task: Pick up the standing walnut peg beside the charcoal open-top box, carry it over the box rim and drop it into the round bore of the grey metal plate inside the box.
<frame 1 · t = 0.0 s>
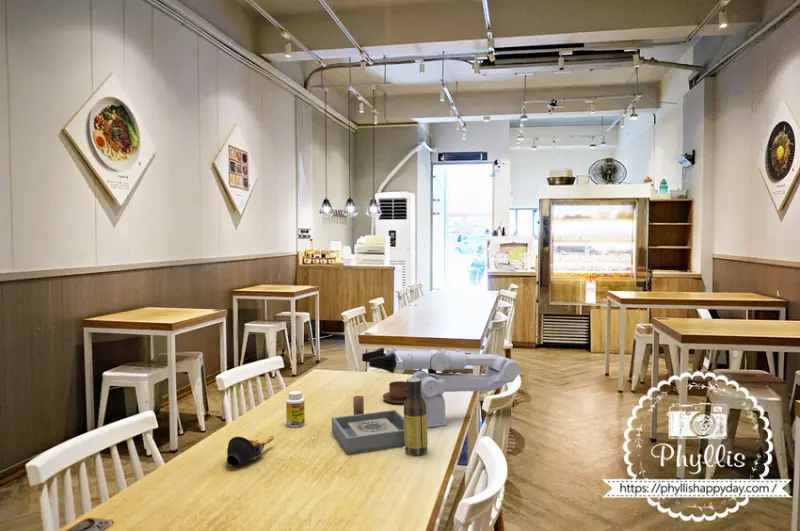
hand: (365, 359, 159), 22 cm above the table, tool horizontal, fingers open, 7 cm apart
bored plate: (372, 430, 154), in the open box, point 2 cm above the table
supplement bottle: (295, 425, 167), on the table
cup and saucer: (399, 401, 191), on the table
fried shrimp in bowl: (252, 459, 141), on the table
open box: (372, 438, 154), on the table
peg: (358, 422, 169), on the table
sauce bottle: (415, 452, 144), on the table
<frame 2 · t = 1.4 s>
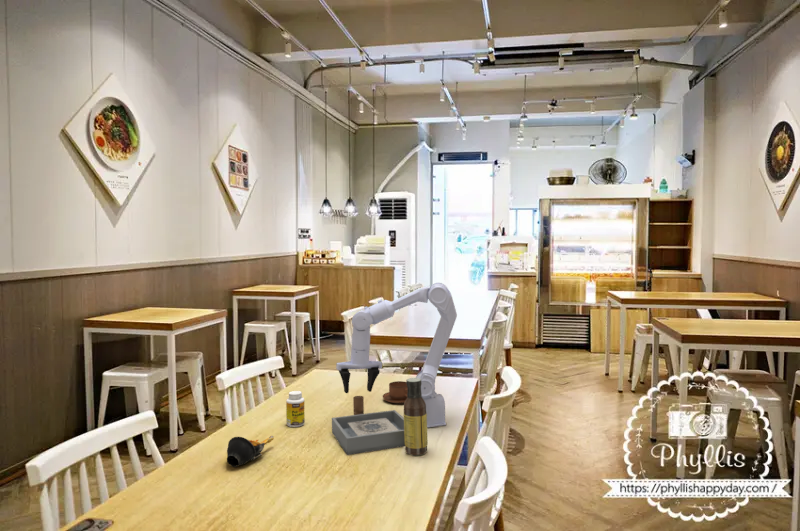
hand: (357, 391, 168), 10 cm above the table, tool pointing down, fingers open, 7 cm apart
nothing on the table moved.
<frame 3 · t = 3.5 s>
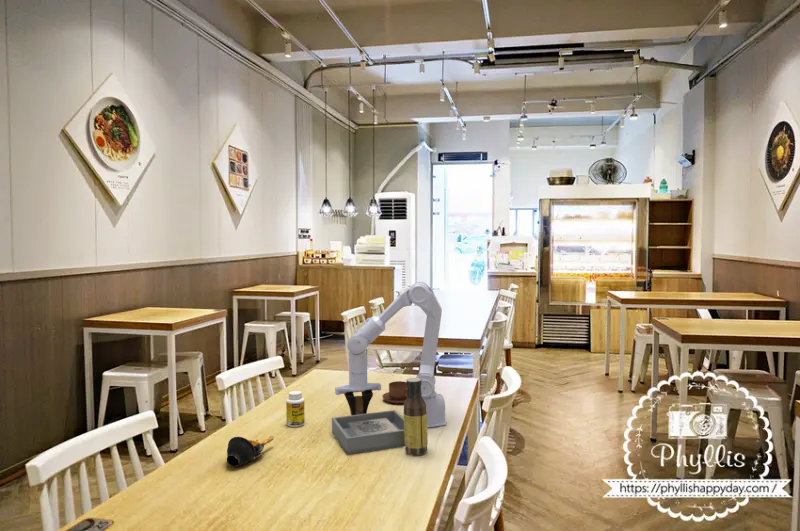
hand: (358, 414, 168), 2 cm above the table, tool pointing down, fingers closed on peg, 3 cm apart
peg: (358, 422, 168), on the table, touching gripper
everything else where it was.
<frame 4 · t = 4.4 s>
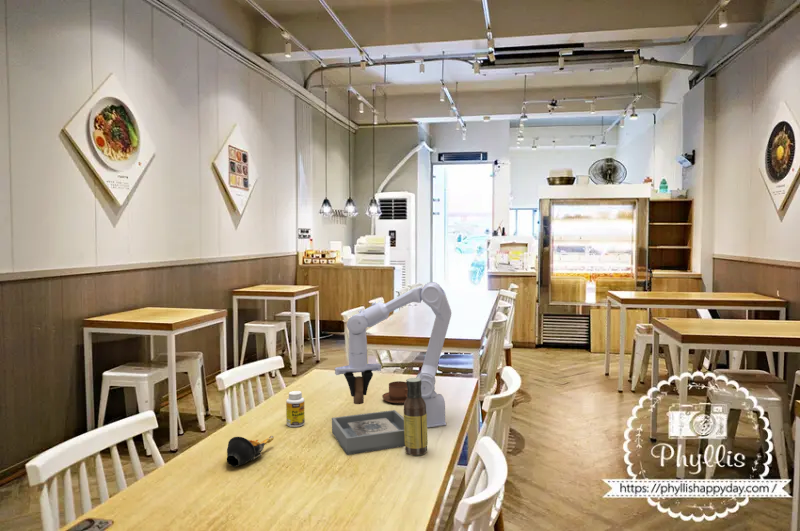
hand: (358, 395, 168), 9 cm above the table, tool pointing down, fingers closed on peg, 3 cm apart
peg: (358, 402, 168), point 6 cm above the table, touching gripper
everything else where it was.
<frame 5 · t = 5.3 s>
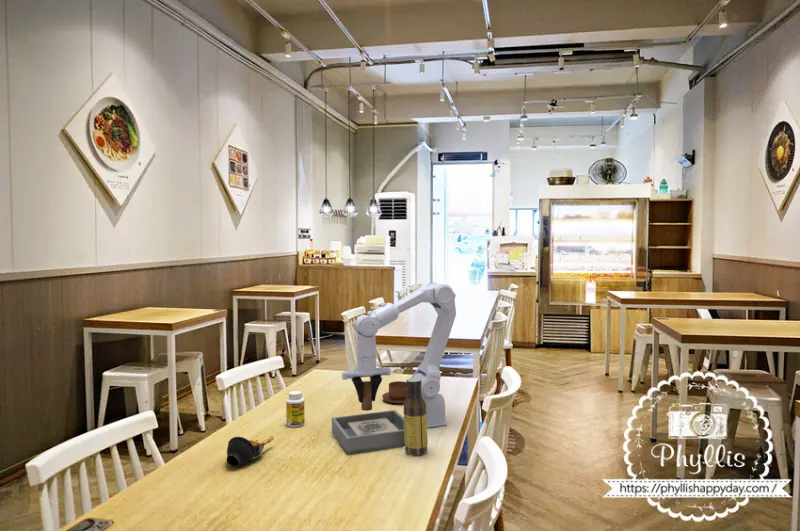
hand: (366, 400, 159), 9 cm above the table, tool pointing down, fingers closed on peg, 3 cm apart
peg: (366, 409, 160), point 7 cm above the table, touching gripper
everything else where it was.
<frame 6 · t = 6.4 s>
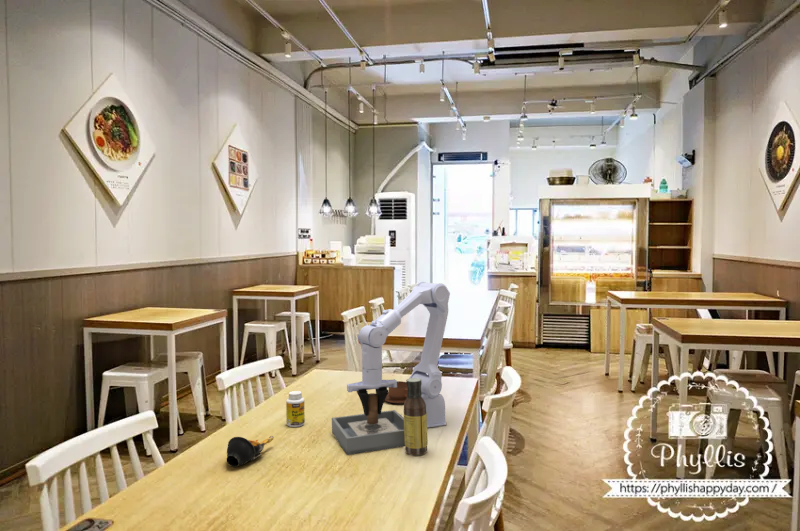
hand: (372, 414, 154), 7 cm above the table, tool pointing down, fingers closed on peg, 3 cm apart
peg: (372, 422, 154), point 5 cm above the table, touching gripper
everything else where it was.
when the fingers open (4 cm above the table, at t = 8.1 s): peg stays where it is, resting on open box.
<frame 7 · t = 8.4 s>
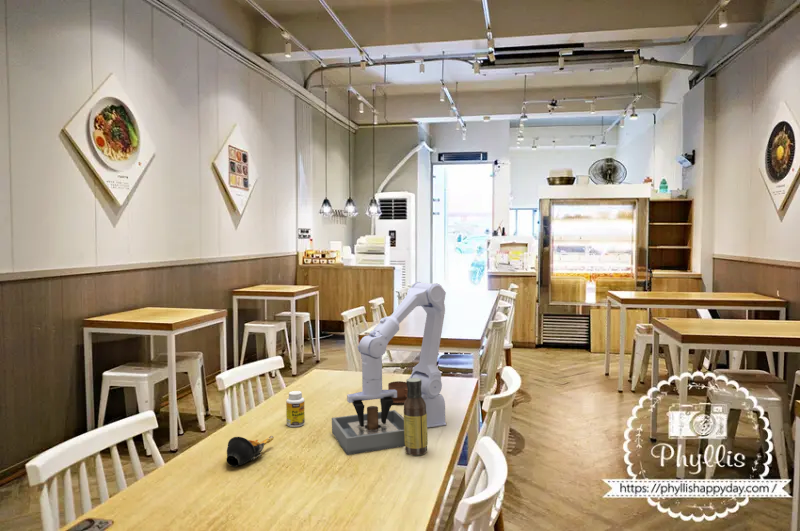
hand: (372, 424, 154), 4 cm above the table, tool pointing down, fingers open, 6 cm apart
peg: (372, 435, 154), point 1 cm above the table, touching open box
everything else where it was.
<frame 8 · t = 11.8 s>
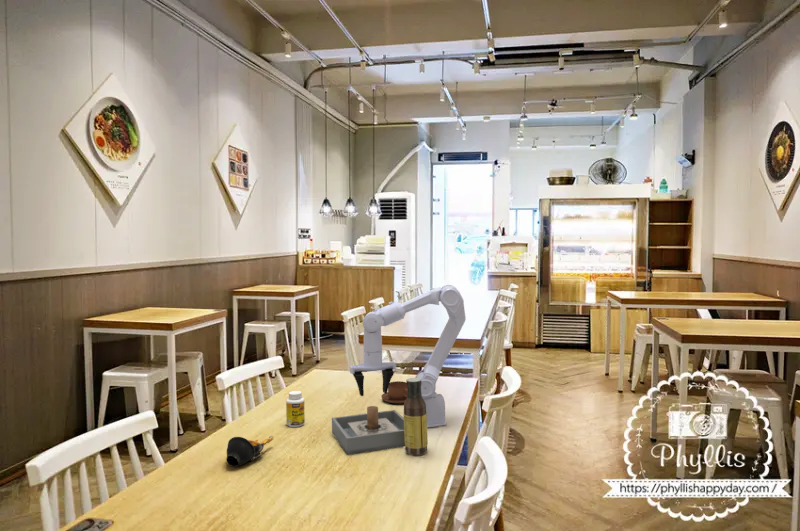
hand: (373, 393, 167), 9 cm above the table, tool pointing down, fingers open, 7 cm apart
nothing on the table moved.
at the end: peg 0.0 cm off-centre on the bored plate, point 1.0 cm above the bored plate's base; peg tilted 0°; the gripper is holding nothing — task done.
